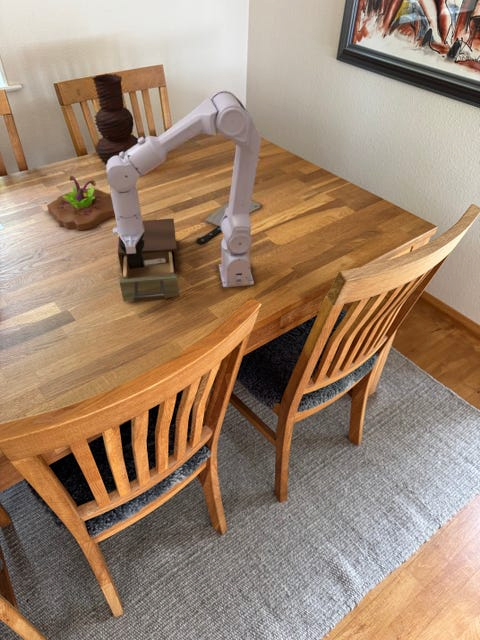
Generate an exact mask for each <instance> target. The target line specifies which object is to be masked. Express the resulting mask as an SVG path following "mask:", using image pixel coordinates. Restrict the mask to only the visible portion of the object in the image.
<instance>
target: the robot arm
mask: <svg viewBox="0 0 480 640" xmlns="http://www.w3.org/2000/svg"><path fill="white" fill-rule="evenodd" d="M217 131H218V133H220V135H222V136H223V137H225V138H227V139H229V140H230V141H233V143H235V144H236V145H235V154H234V161H233V167H232V174H231V175H232V176H231V183H230V192H229V199H228V202H229V206H228V208H226V209H225V214H224V216H223V218H222V219H221V221H220V229H221V233H222V237H223V238H222V240H221V243H220V247H221V248H220V249H221V252H220V253H221V263H219V264H218V270H219V275H220V279H221V284H222V287H223V288H232V287H234V288H235V287H245V286H253V285H254V284H255V282H254V279H253V275H252V270H251V269H252V268H251V267H252V266H251V262H250V260H251V259H250V257H251V256H250V255H251V247H252V245H253V237H252V235H251V231H252V223H251V218H250V213H249V212H250V206H251V201H253V200H252V199H253V194H254V188H255V187H254V186H255V181H256V175H257V169H258V163H259V157H260V152H261V145H262V137H261V135H260V132H259V131H258V128H257V126H256V124H255V122H254V119H253V117H252V115H251V114H250V113H249V112H248V110H247V109H246V107H245V105H244V104H243V102H242V101H241V100H240V99H239V98H238V97H237V96H236V95H235V94H234V93H233V92H231V91H229V90H220V91H216V93H214V94H213V95H212V96H211V97H207V98H205V99H204V100H203V101H201V103H199V104H198V105H197V106H196V107H195V109H193V110H192V111H190V112H189V113H188V114H187V115H185V116H184V117H182V118H181V119H180V120H178V121H177V122H176V123H174V124H173V125H172V126H171V127H169V128H168V129H167V130H165V131H164V132H163V133H162V134H160V135H159V136H155V135H148V136H146V137H144V136H141V137H139V138H138V144H136V145H135V146H133V147H132V148H130V149H129V150H127V151H126V152H125V153H124V152H123V151H122V152H121V153H119V156H117V155H116V156H113V157H111V158H110V159H109V160H108V163H107V165H105V170H106V180H107V184H108V185H109V190H110V192H111V193H110V194H111V198H112V203H113V208H114V213H115V216H114V217H115V223H116V226H115V227H113V228H112V234H113V235H115V236H116V235H118V237H119V236H120V238H121V240H120V242H119V241H118V242H119V245H120V248H121V249H122V250H123V251H124V252H125V253H126V255H127V257H128V259H129V261H130V263H131V265H132V266H139V265H141V253H142V250H143V247H144V244H145V242H144V240H142V239H143V236H144V226H143V223H142V221H143V216H142V210H141V205H140V198H139V191H138V189H137V188H136V185H137V181H138V179H140V178H142V177H143V176H145V175H146V174H148V173H149V172H151V171H152V170H154V169H155V168H157V167H158V166H160V165H161V164H163V163H165V162H166V159H167V155H168V153H169V152H170V151H172V150H173V149H176V148H177V147H179V146H181V145H183V144H185V143H186V142H187V141H189V140H191V139H193V138H194V137H196V136H198V135H199V134H203V135H209V136H213V137H217Z"/></svg>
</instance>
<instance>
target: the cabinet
mask: <svg viewBox="0 0 480 640" xmlns="http://www.w3.org/2000/svg"><path fill="white" fill-rule="evenodd" d="M142 223H143V226H144V236H143V239H142V240H144V242H145V244H144V247H143V250H142V254H145V253H157V252H170V251H172V257H173V267H174V273H179V272H180V268H179V260H178V259H179V258H178V249H177V239H176V229H175V219H174V217H173V218H160V219H159V218H158V219H147V220H142ZM120 240H121V238H120V236H119V235H118V241H117V242H118V243H117V256H118V261H119V266H120V270H121V276H122V277H123V265H124V255H126V253H125V252H124V251H123V250H122V249H121V248H120V245H119V242H120Z"/></svg>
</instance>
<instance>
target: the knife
mask: <svg viewBox="0 0 480 640" xmlns="http://www.w3.org/2000/svg"><path fill="white" fill-rule="evenodd" d="M127 262H128V266H129V269H134V268H141V267H144V266H150V265H158V264H164V263H165V262H166V260H165V259H164V258H161V259H154V260H146V261H144V259H143V255H142V253H141V265H139V266H132V265H131V263H130V261H129V259H128V257H127Z"/></svg>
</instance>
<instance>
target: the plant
mask: <svg viewBox="0 0 480 640" xmlns="http://www.w3.org/2000/svg"><path fill="white" fill-rule="evenodd" d="M68 180H69V182H73V181H74V184H75V186H74V187H72V191H68V192H67V193H65V194H62V195H60V196H58V197H57V198H56V199H55V200H53V201H51V202H49V204H47V205H46V207H47V210H48V213H49V215H50V216H52V217H53V219H54V220H55V221H56V222H58V225H59V226H60V227H64V228H65V229H67V230H70V229H77V230H78V231H85V230H86V231H87V230H90V229H93V228H94V227H96V226H98V225H99V224H100V223H102V222H104V221H106V220H108V219H110V218H114V217H115V213H114V208H113V203H112V198H111V193H107V192H105V191H103V190H100V189H97V188H94V187H95V186H97V182H96V181H95V180H88V181H86V183H84V185H83V187H80V183H79V182H78V181H77V180H76V178H75V176H74V175H69V176H68ZM89 184H90V185H91V186H93V187H90V188H87V187H88V186H89Z"/></svg>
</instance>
